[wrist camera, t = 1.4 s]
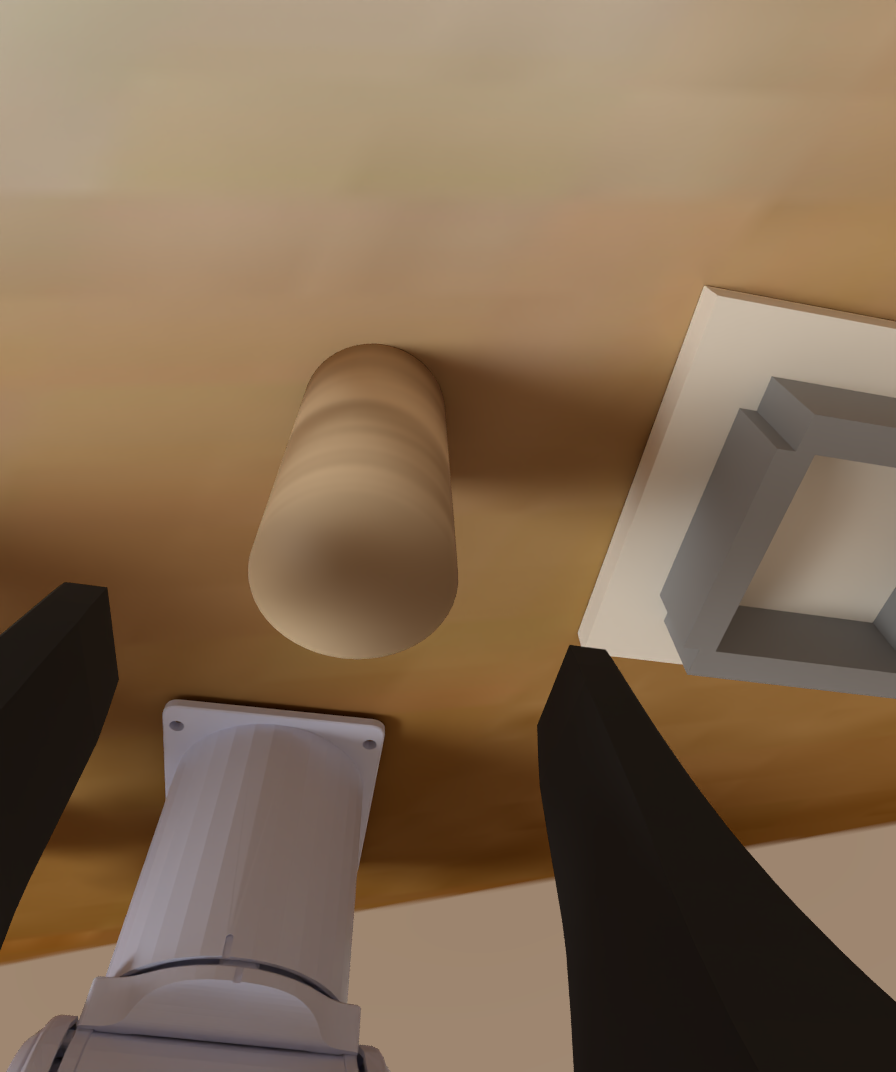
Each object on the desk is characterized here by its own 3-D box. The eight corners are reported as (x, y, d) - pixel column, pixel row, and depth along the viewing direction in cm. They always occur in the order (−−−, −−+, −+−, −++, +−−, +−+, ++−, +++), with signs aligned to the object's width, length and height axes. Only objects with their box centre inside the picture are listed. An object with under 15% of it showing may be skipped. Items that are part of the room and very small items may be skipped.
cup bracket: (889, 671, 27) (947, 745, 24) (577, 632, 25) (598, 707, 22) (1103, 360, 21) (1218, 410, 18) (704, 285, 19) (756, 325, 16)
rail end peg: (432, 484, 22) (438, 668, 15) (298, 464, 22) (244, 646, 15) (457, 357, 20) (476, 507, 13) (309, 332, 19) (252, 475, 13)
